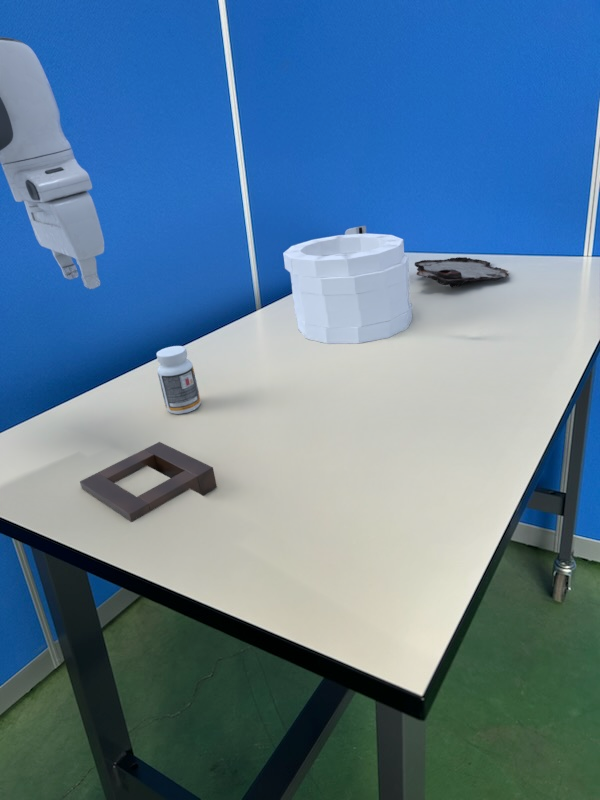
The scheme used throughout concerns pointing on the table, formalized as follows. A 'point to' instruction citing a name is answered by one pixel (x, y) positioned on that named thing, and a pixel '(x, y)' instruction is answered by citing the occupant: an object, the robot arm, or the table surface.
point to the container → (350, 287)
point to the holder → (167, 462)
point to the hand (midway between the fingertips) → (82, 282)
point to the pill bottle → (177, 380)
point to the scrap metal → (459, 270)
